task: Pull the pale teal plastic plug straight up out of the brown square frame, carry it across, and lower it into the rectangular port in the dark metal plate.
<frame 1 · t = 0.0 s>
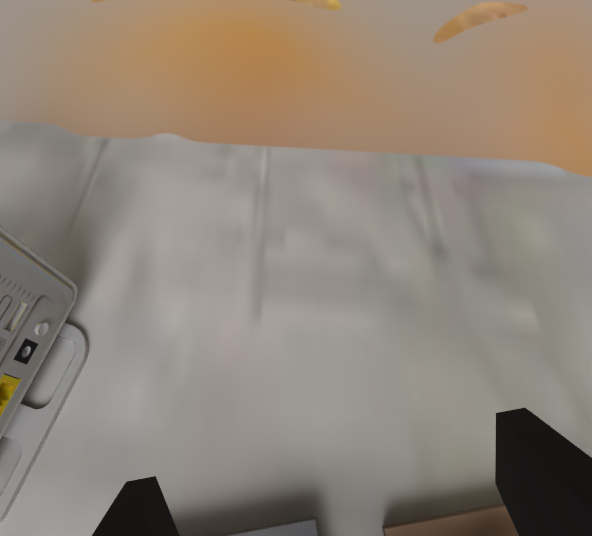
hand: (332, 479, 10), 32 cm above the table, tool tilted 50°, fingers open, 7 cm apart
network device: (9, 417, 44), on the table
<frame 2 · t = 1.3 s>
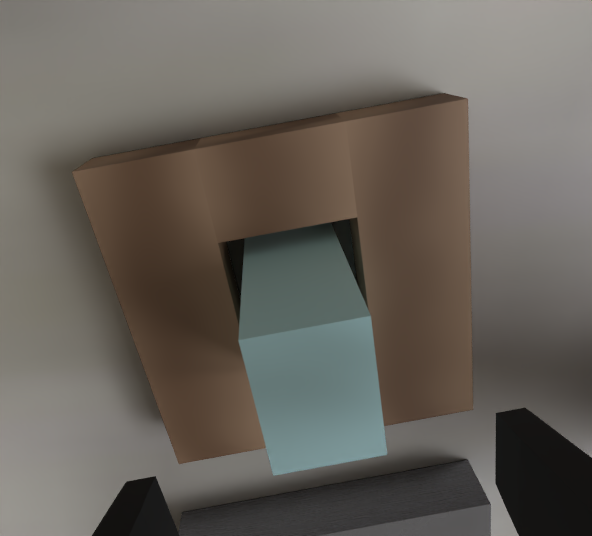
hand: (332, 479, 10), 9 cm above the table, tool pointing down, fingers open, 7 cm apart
plug: (305, 330, 16), in the brown square frame
brown square frame: (297, 283, 19), on the table
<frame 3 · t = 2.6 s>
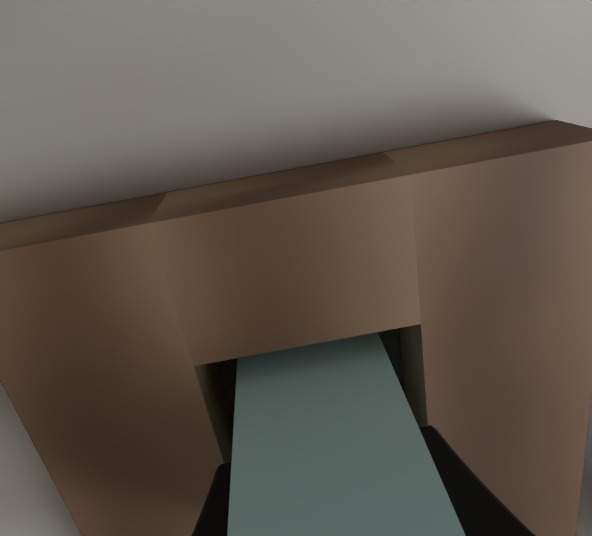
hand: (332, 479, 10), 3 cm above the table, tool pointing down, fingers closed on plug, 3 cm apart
plug: (337, 511, 10), in the brown square frame, touching gripper
brown square frame: (317, 395, 13), on the table
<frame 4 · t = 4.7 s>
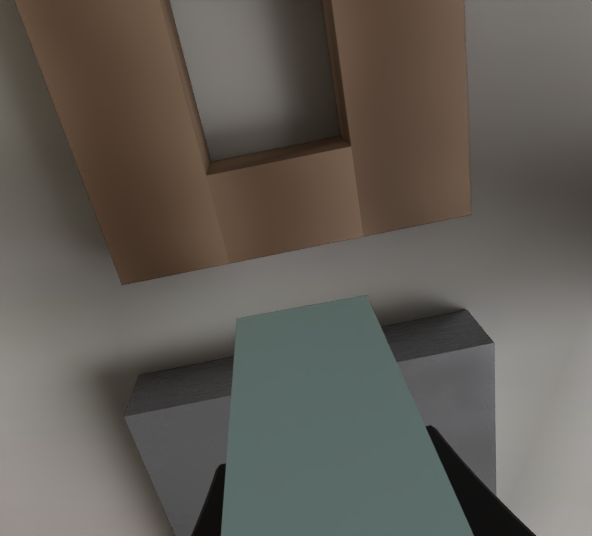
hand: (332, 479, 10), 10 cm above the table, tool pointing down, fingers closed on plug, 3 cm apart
plug: (334, 491, 10), point 10 cm above the table, touching gripper
brown square frame: (257, 58, 16), on the table
port plate: (328, 463, 23), on the table
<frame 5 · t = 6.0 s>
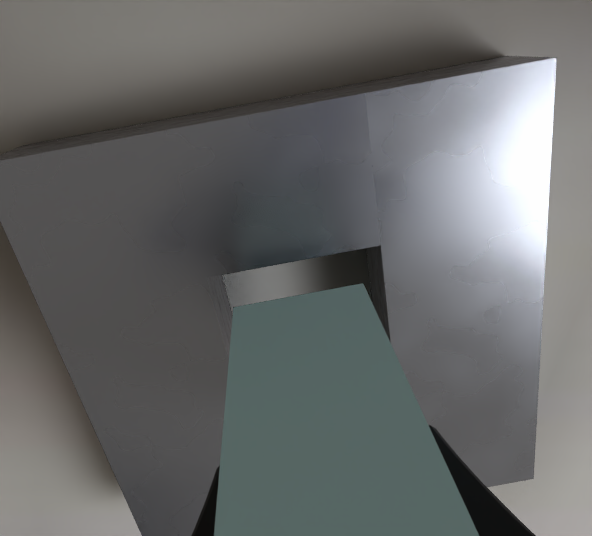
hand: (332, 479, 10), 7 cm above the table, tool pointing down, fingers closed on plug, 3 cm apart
plug: (331, 477, 10), point 8 cm above the table, touching gripper
port plate: (303, 312, 17), on the table
when the fingers open (4 cm above the table, at t = 7.0 s): plug drops 1 cm, resting in port plate.
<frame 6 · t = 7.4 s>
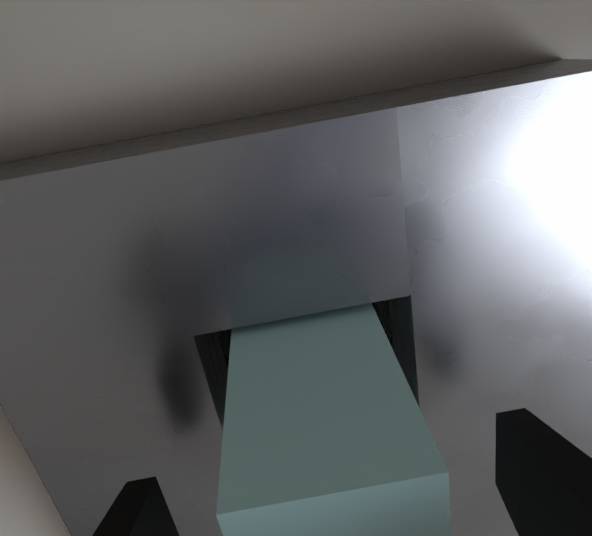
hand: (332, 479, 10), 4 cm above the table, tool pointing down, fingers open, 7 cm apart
plug: (322, 432, 11), in the port plate
port plate: (311, 362, 14), on the table
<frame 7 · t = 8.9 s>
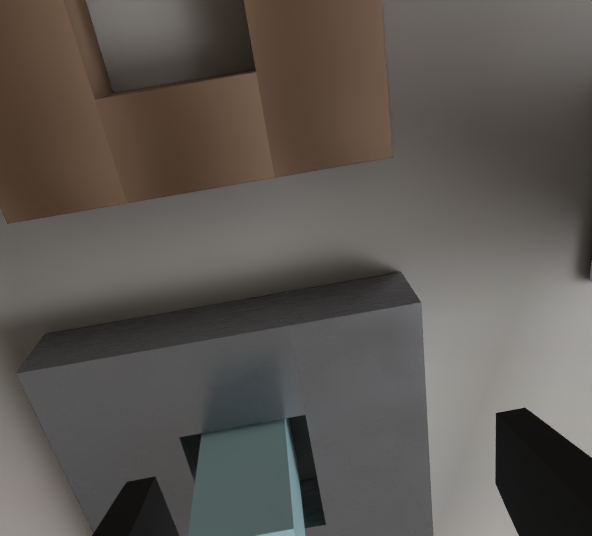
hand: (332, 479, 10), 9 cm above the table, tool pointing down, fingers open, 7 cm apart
plug: (254, 493, 18), in the port plate
port plate: (256, 438, 22), on the table
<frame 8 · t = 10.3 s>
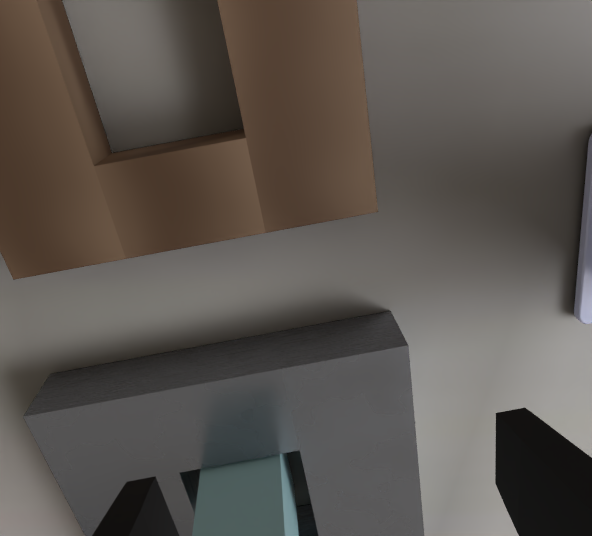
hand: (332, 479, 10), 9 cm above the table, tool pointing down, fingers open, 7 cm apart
plug: (251, 525, 19), in the port plate
brown square frame: (154, 44, 15), on the table
port plate: (255, 467, 23), on the table
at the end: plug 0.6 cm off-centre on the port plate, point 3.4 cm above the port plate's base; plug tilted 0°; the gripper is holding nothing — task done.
